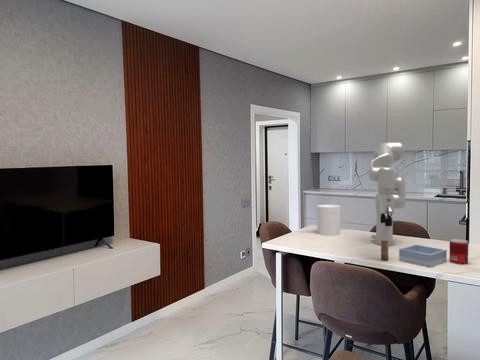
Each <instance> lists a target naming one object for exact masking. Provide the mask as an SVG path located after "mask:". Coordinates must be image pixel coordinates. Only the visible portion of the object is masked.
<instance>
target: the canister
mask: <svg viewBox="0 0 480 360" xmlns="http://www.w3.org/2000/svg"><path fill="white" fill-rule="evenodd" d="M316 208H317V209H316V211H317V219H316V220H317V222H316V223H317V226H316V227H317V231H316V232H317V234H318V235H319V234H320V236H326V237H331V236H332V237H334V236H339V235H341V205H339V204H318V205H317V206H316Z"/></svg>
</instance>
